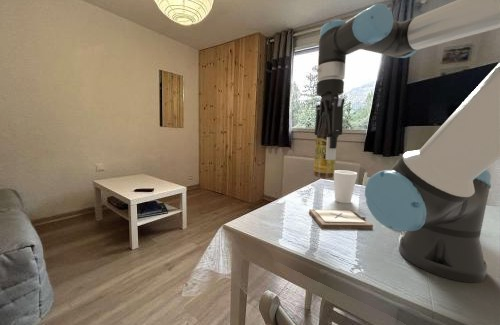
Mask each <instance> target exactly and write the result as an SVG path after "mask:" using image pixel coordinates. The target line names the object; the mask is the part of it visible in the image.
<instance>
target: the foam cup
mask: <svg viewBox="0 0 500 325" xmlns="http://www.w3.org/2000/svg"><path fill="white" fill-rule="evenodd" d="M357 179H358V172H356V171H351V170H343V169H342V170H341V169H340V170H339V169H337V170H336V169H335V172H334V177H333V186H334V189H333V190H334V200H335V202H337V203H341V204H349V203H351V202H352V197H353V195H354V190H355V186H356V182H357Z"/></svg>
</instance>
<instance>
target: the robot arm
mask: <svg viewBox="0 0 500 325" xmlns="http://www.w3.org/2000/svg"><path fill="white" fill-rule="evenodd" d="M497 29H500V0H454V1H452V2H449V3H447V4H444V5H442V6H439V7H436V8H434V9H432V10H429V11H427V12H424V13H422V14H420V15H417V16H415V17H412V18H409V19H407V20H404V21H398V20H394V17H393V12H392V11H391V9H389V7H388V5H386V4H385V3H376V4H373V5H372V6H370V7H368V8H366V9H364V10H362V11H360V12H358V13H357V14H356V15H355V16H352V18H350V19H349V20H347V21H345V20H343V19H332V20H331V21H328V22H326V23H324V24H323V25H322V26H321V28H320V34H319V40H318V62H317V63H318V65H317V68H316V72H317V80H316V81H317V83H316V92H315V93H316V95H317V96H318V97H321V98H320V99H321V100H320V102H319V104H316V106H315V112H316V114H315V124H314V135H315V136H316V137H317V136H318V133H319V131H320V129H321V125H322V113H323V112H325V114H326V115H327V121H328V135H326V137H327V144H326V160H336V159H337V152H336V146H337V147H338V139H337V137H339V136H341V135H343V124H344V122H343V121H344V120H343V119H344V104H345V102H346V101H345V97H344V98H341V97H339V96H341V95H342V94H343V93H344V87H345V86H344V85H345V81H344V79H345V72H346V58H347V55H349V54H351V53H354V52H356V51H359V50H363V51H367V52H371V53H372V52H373V53H377V54H380V55H385V56H390V57H391V58H396V59H399V58H401V59H406V58H409V57H411V56H413V55H414V54H415V53H416V52H418V51H419V50H421V49H425V48H429V47H433V46H436V45H440V44H444V43H447V42H453V41H455V40H458V39H462V38H466V37H470V36H474V35H479V34H481V33H482V34H483V33H485V32H489V31H494V30H497ZM499 160H500V61H499V62H498V63H497V64H496V65H495V67H494V68H493V69H492V70H491V71H490V72H489V73H488V74H487V75H486V76H485V77H484V78H483V80H482V81H481V82H480V83H479V84H478V86H476V88H475V89H474V90H473V91H472V92H471V93H470V94H469V95H468V96H467V97H466V98H465V99H464V101H462V102H461V104H460V105H459V106H458V107H457V108H456V109H455V110H454V111H453V113H452V114H451V115H450V116H449V117H448V118H447V119H446V120H445V121H444V123H442V124H441V126H439V128H438V129H437V130H436V131H435V132H434V134H432V135H431V137H430V138H429V139H428V140H427V141H426V142H425V143H424V145H422V146H421V148H420V149H417V150H409V151H406V152H404V153H403V154H402V156H400V158H398V160H397V161H396V162H395V163H394V165H393V166H392V167H391V168H390V169H384V170H380V171H378V172H376V173H374V174H372V175H371V176H370V177H369V178H368V180H367V182H366V184H365V188H364V197H365V201H366V202H365V203H366V206H367V209H368V210H369V212H370V213H371V215H372V217H374V218H375V220H376V221H377V222H378V223H379V224H381V225H382V226H383V227H385V228H387V229H390V230H393V231H395V232H397V231H398V232H405V233H404V235H403V236H402V237H401V238H400V240H399V245H398V251H399V254H400V255H401V256H402V257H403V258H404V259H405V260H407V261H408V262H410V264H412V265H415V266H416V267H417V268H419V269H421V270H423V271H427V272H428V273H430V274H433V275H435V276H438V277H442V278H446V279H449V280H453V281H457V282H464V283H478V282H479V283H480V282H483V281H485V279H486V276H487V270H488V265H487V263H486V260H485V258H484V253H483V249H482V243H481V232H482V228H483V223H484V218H485V212H486V208H487V203H488V197H489V192H490V189H491V187H492V185H491V177H492V174H491V172H490V171H489V170H488V169H489V168H490V167H491V166H493V165H494V164H495V163H496V162H497V161H499ZM336 161H337V160H336Z"/></svg>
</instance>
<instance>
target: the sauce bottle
mask: <svg viewBox="0 0 500 325" xmlns="http://www.w3.org/2000/svg"><path fill="white" fill-rule="evenodd" d="M326 135H328V121H327V115H326V114H325V112H323V113H322V125H321V129H320V131H319V133H318V136H317V135H316V140H315V148H314V160H313V175H314V177H317V178H321V179H331V178H334V172H335V170H336V161H337V160H326V144H327V137H326ZM338 137H339V136H338ZM338 137H337V140H338ZM337 149H338V145H337V146H336V153H337Z"/></svg>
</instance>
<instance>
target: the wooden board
mask: <svg viewBox="0 0 500 325" xmlns="http://www.w3.org/2000/svg"><path fill="white" fill-rule="evenodd" d="M308 212H309V215H311V217H312V218H313V219H314V221H315V222H317V224H318V225H319V226H320V228H321V229H351V230H352V229H355V230H356V229H358V230H359V229H361V230H362V229H363V230H364V229H367V230H369V229H370V230H373V228H374V225H373V224H372V223H371V222H369V221H368V220H366V218H367V217H366V216H365V215H364V214H362V213H361V212H359V211H358V210H357V211H354V210H352V209H313V208H312V209H309V210H308Z"/></svg>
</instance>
